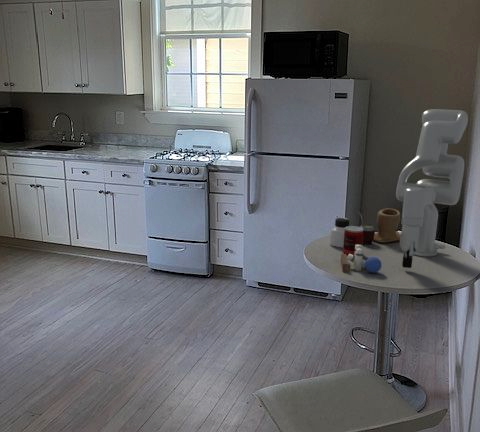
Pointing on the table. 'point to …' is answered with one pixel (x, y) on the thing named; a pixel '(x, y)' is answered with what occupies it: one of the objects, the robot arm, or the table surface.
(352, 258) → the front pin
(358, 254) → the back pin left
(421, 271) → the table surface
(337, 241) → the medicine bottle
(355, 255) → the back pin right
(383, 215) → the stone cup
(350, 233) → the canned food
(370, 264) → the ball
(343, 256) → the stopper wall
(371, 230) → the mate gourd
